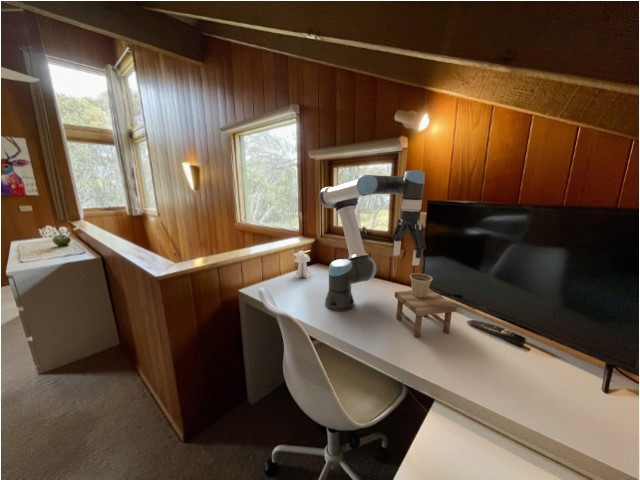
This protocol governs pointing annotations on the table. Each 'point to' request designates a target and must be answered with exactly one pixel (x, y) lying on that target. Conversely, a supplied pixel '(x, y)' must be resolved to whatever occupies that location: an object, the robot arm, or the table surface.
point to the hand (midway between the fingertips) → (405, 259)
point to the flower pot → (420, 284)
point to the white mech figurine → (302, 264)
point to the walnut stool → (425, 309)
